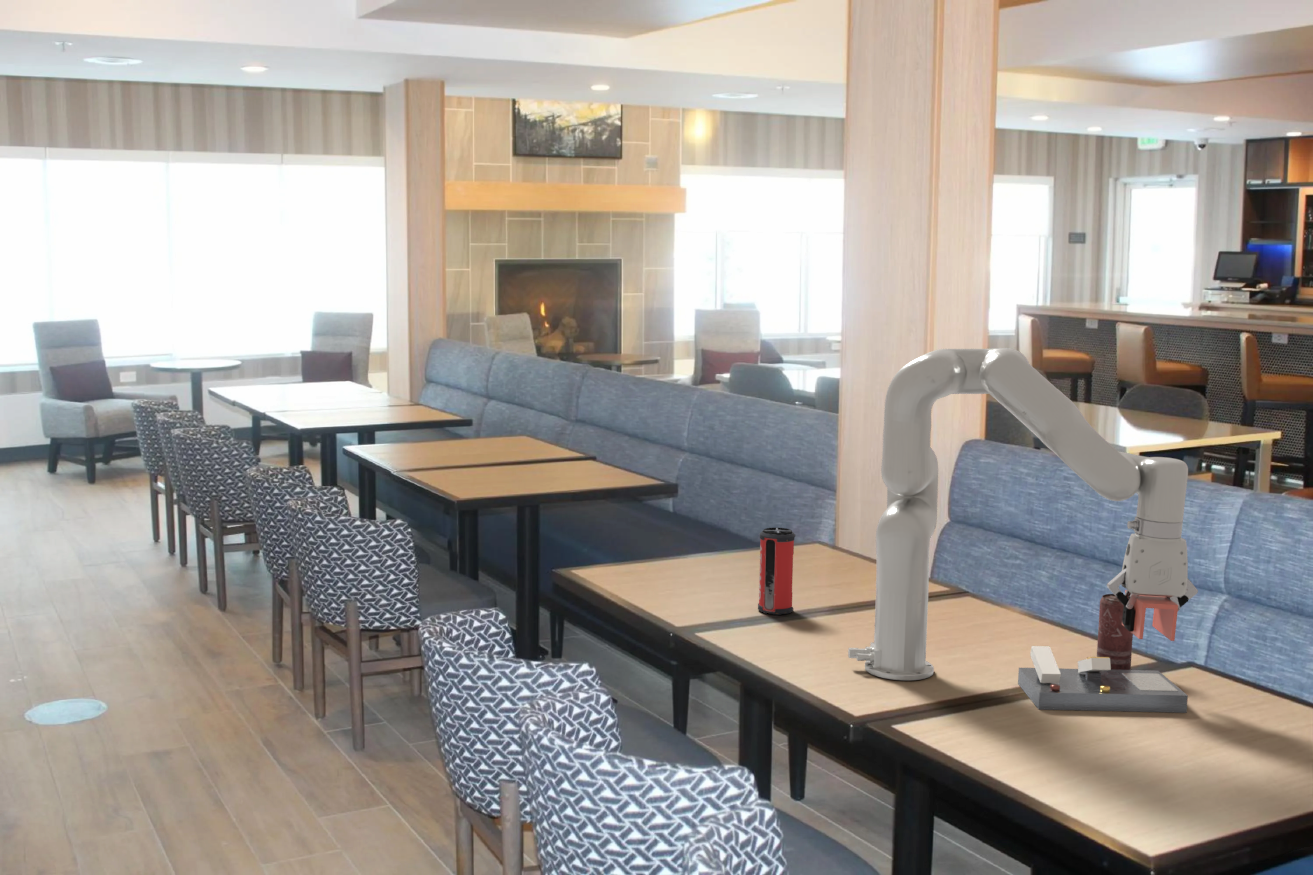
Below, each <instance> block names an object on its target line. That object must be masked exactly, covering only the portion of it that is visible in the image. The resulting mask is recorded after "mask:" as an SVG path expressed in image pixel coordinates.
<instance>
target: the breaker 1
mask: <svg viewBox="0 0 1313 875" xmlns="http://www.w3.org/2000/svg"><path fill="white" fill-rule="evenodd" d="M1030 647H1031V648H1030V652H1029V654H1030V658H1031V660H1032V664H1033V666H1034V667H1033V668H1035V669H1036V672H1037V675H1038V677H1039V680H1040V683H1059V682H1060V676H1061V673H1060V671H1059V668H1060V667H1059V665H1058V663H1057V661H1056V658H1055V655H1054V654H1053V650H1052V649H1051V646H1048V645H1047V646H1046V645H1045V646H1042V645H1031V646H1030Z"/></svg>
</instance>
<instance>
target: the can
mask: <svg viewBox="0 0 1313 875" xmlns="http://www.w3.org/2000/svg"><path fill="white" fill-rule="evenodd" d="M1123 607H1124V605H1123V604H1122V603H1121V602H1120V601H1119V600H1118V598H1117V597H1116V596H1115V595H1114V594H1113V593H1105V594H1103V595H1102V596H1101V598H1100V599H1099V609H1098V610H1099V613H1098V629H1097V631H1098V632H1097V644H1096V646H1097V647H1096V657H1109V658H1110V665H1111V670H1132V669H1131V668H1132V654H1133V638H1134V637H1133V635H1134V634H1133V633H1131V632H1130V631H1128V630H1127V629H1126V628H1125V627H1124V626H1123V625H1122V617H1123Z"/></svg>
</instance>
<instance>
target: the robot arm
mask: <svg viewBox="0 0 1313 875" xmlns="http://www.w3.org/2000/svg"><path fill="white" fill-rule="evenodd" d="M987 394H989V395H990V396H991V397H992V398H993V399H994V400H996V401H997V403H999V404H1000V405H1001V406H1002V407H1003V408H1005V410H1007V411H1008V412H1010V414H1012V415H1013V416H1014V417H1015V418H1016V419H1017V420H1018V421H1019V422H1020V423H1022V424H1023V426H1025V427H1026V428H1027V429H1028V430H1029V431H1031V433H1033V435H1035V436H1036V438H1038V439H1039V441H1040V442H1041V443H1043V445H1044V446H1045V447H1047V448H1048V449H1049V450H1050V451H1052V452H1053V453H1054V454H1055V455H1056V456H1057V457H1058V458H1059V459H1060V460H1061V461H1062V462H1063V463H1064V464H1065V465H1066V466H1068V468H1070V470H1071V471H1073V473H1075V474H1076V475H1077V476H1078V477H1079V478H1080V479H1081V480H1083V482H1084V483H1086V484H1087V485H1088V486H1089V487H1090V488H1092V490H1093V491H1095V493H1097V494H1098V495H1100V496H1101V497H1102V498H1105V499H1107V500H1108V501H1113V502H1123V501H1126V500H1128V499H1130V498H1131V497H1133V496H1134V495H1135V494H1137V496H1138V498H1137V508H1136V516H1134V520H1128V521H1127V524H1126V526H1127V529H1128V530H1129V529H1131V530H1133V532H1134V533H1131V534H1130V536H1129V539H1128V542H1127V545H1126V549H1125V553H1124V557H1123V562H1122V568H1121V571H1120V572H1119V573H1118V574H1116V575H1115V576H1114V577H1113V578H1112V579H1111V580H1110V581H1108V582H1107V584H1106V587H1107V589H1108V590H1109V591H1110V592H1111V594H1114V595H1115V596H1116V597H1117V598H1118V600H1119V601H1120V602H1121V603H1122V604H1123V605H1124V607H1123V617H1122V624H1123V625H1124V627H1125V628H1126V629H1127V630H1128V631H1130V632H1133V630H1134V621H1135V609H1134V604H1135V602H1136V599H1137V598H1138V597H1139V595H1145V596H1164V597H1167V598H1169V599H1170V600H1172V601H1173V602H1174V603H1176V604H1177V605H1178V612H1179V611H1180V610H1181V608H1182V607H1183V606H1184V605H1186V604H1187V603H1188V602H1189V601H1190V600H1191V599H1192V598H1193V597H1195V596H1196V595H1197V594H1198V593H1199V590H1198V589H1197V587H1196V586H1195V584H1194V583H1192V581H1191V580H1190V579H1189V578H1188V568H1189V567H1188V565H1189V564H1188V562H1189V561H1188V546H1187V540H1186V538H1183V537H1182V532H1183V522H1184V516H1185V515H1184V513H1185V502H1186V495H1187V485H1188V478H1189V477H1188V476H1189V467H1188V465H1187V463H1186V462H1185V461H1183V460H1181V459H1178V458H1172V457H1166V456H1165V457H1163V456H1150V457H1149V456H1144V455H1138V454H1134V453H1130V452H1124V451H1118V449H1116V448H1115V447H1113V445H1111V443H1109V442H1108V441H1107V440H1106V439H1105V438H1104V437H1103V436H1102V435H1101V434H1100V433H1098V432H1097V430H1096V429H1095V428H1094V427H1093V426H1091V424H1090V423H1089V422H1088V421H1087V419H1086V418H1085V416H1084V415H1083V414H1082V412H1081V410H1080V409H1079V408H1078V407H1077V405H1076V404H1075V403H1074V402H1073V401H1072V400H1071V399H1070V398H1069V397H1068V396H1066V395H1065V394H1064V393H1063V392H1062V391H1061V390H1060V389H1058V388H1057V386H1055V385H1054V384H1053V383H1051V382H1050V381H1049V380H1048V379H1047V378H1046V377H1044V375H1042V374H1041V372H1040V371H1038V370H1037V369H1036V368H1035V367H1033V366H1032V365H1031V363H1030V362H1029V361H1028V359H1027V357H1026V356H1025V355H1024V354H1023V353H1022V352H1021V351H1019V350H1018V349H1015V348H1009V347H995V348H940V349H939V348H938V349H935V350H932V351H929V352H926V353H924V354H922V355H920V356H919V357H916V358H914V359H913V360H911V361H909V362H908V363H906V364H905V365H903V367H901V368H900V369H899V370H898V371H897V372H896V373H895V375H894V376H893V378H892V380H891V381H890V383H889V385H888V387H887V390H886V394H885V402H884V412H883V414H884V416H883V433H882V452H881V453H882V454H881V455H882V456H881V457H882V459H881V466H880V467H881V468H880V471H881V472H880V474H881V479H882V481H883V484H884V485H885V487H886V488H887V489H886V494H887V495H886V509H885V510H884V511H883V512H882V514H881V516H880V517H879V520H878V523H877V526H876V530H875V552H876V553H875V555H876V574H875V576H876V577H875V578H876V579H875V580H876V581H875V607H874V608H875V611H874V613H875V614H874V634H873V635H874V638H873V642H872V641H871V642H870V646H865V647H864V648H859V647H848V651H847V653H848V655H847V656H848V659H856V662H857V661H858V662H864V670H865V671H866V672H867V673H869V674H870V675H872V676H875V677H878V678H882V679H887V680H894V681H920V680H924V679H927V678H928V679H929V678H930V677H932V676H933V675H934V670H935V668H934V666H933V664H932V663H930V661H927V660H926V658H927V657H926V656H927V639H928V637H927V636H928V634H927V633H928V613H929V610H928V609H929V607H928V606H929V580H930V542H931V538H932V537H933V534H934V532H935V531H936V527H937V522H938V494H939V493H938V492H939V488H938V487H939V462H938V458H937V455H936V453H935V451H934V449H933V448H932V446H931V430H932V409H933V406H934V403H935V402H936V401H938V400H940V399H942V398H946V397H948V396H950V395H987ZM1120 586H1122V588H1125V589H1126V590H1127V591H1126V593H1125V592H1124V593H1123V591H1122V590H1121V589H1120Z"/></svg>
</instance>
